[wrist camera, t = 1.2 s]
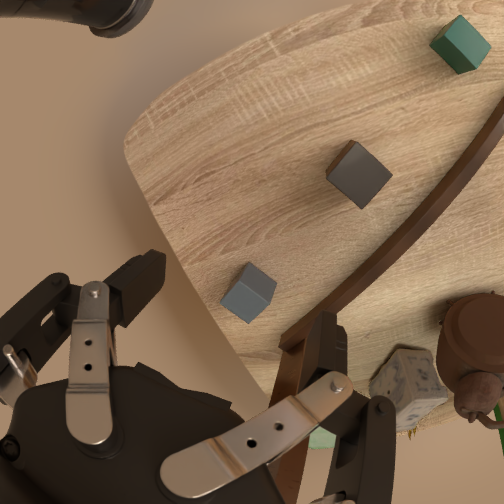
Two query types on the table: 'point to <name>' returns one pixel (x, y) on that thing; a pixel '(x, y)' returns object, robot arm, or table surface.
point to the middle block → (357, 174)
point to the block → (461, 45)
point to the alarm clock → (473, 355)
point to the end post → (293, 461)
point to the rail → (406, 228)
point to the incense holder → (409, 386)
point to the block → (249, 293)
